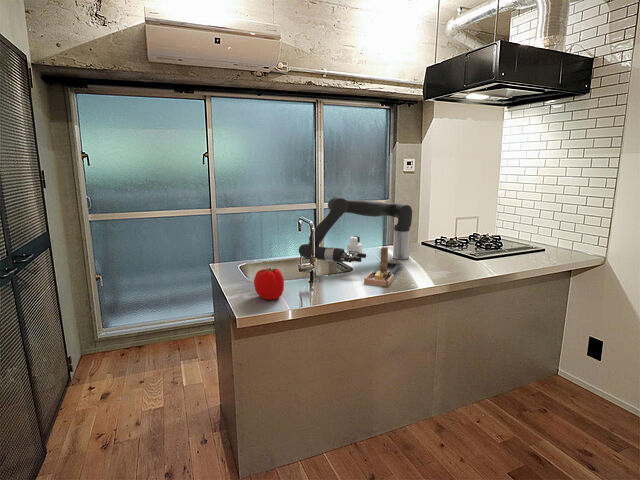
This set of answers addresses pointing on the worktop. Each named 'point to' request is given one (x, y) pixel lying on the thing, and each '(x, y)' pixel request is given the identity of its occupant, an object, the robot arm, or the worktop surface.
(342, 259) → the robot arm
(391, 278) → the tray
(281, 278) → the red bell pepper
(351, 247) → the medicine bottle
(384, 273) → the chip
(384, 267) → the rake
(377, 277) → the chip
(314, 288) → the worktop surface
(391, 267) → the slot bed
